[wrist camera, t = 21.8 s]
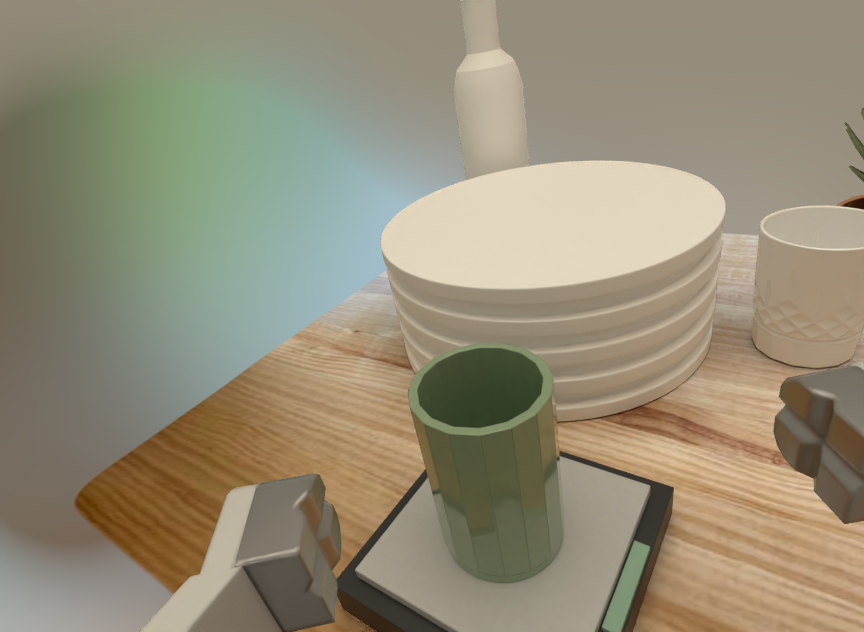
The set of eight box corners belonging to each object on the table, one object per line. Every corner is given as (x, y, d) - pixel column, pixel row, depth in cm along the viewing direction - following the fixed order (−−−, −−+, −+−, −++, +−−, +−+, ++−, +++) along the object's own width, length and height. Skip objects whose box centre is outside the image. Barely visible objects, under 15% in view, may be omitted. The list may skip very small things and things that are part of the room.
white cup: (855, 386, 36) (893, 256, 31) (731, 356, 41) (746, 240, 36) (871, 330, 41) (906, 210, 36) (757, 309, 46) (774, 201, 41)
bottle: (538, 254, 64) (515, -36, 49) (475, 262, 65) (433, -18, 50) (534, 230, 70) (512, -32, 55) (476, 237, 72) (440, -16, 57)
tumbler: (583, 566, 26) (575, 413, 21) (454, 596, 25) (415, 449, 21) (542, 469, 31) (528, 331, 26) (437, 493, 31) (403, 359, 26)
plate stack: (402, 286, 63) (380, 195, 57) (631, 241, 62) (632, 144, 56) (414, 453, 38) (378, 322, 33) (789, 381, 38) (820, 235, 32)
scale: (671, 512, 30) (674, 478, 29) (586, 770, 21) (584, 738, 20) (469, 442, 38) (463, 412, 37) (342, 607, 29) (328, 577, 28)
